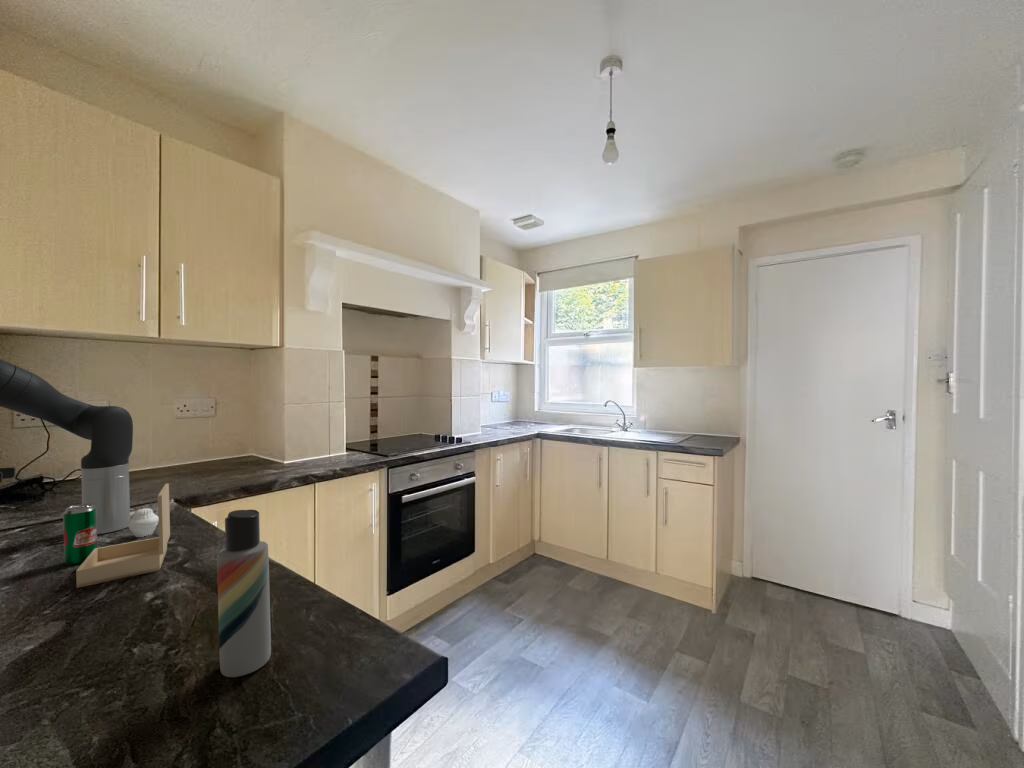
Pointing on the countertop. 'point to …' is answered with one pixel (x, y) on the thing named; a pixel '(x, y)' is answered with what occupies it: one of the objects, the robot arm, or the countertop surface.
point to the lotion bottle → (243, 596)
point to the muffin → (143, 522)
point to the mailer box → (129, 553)
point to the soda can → (79, 533)
